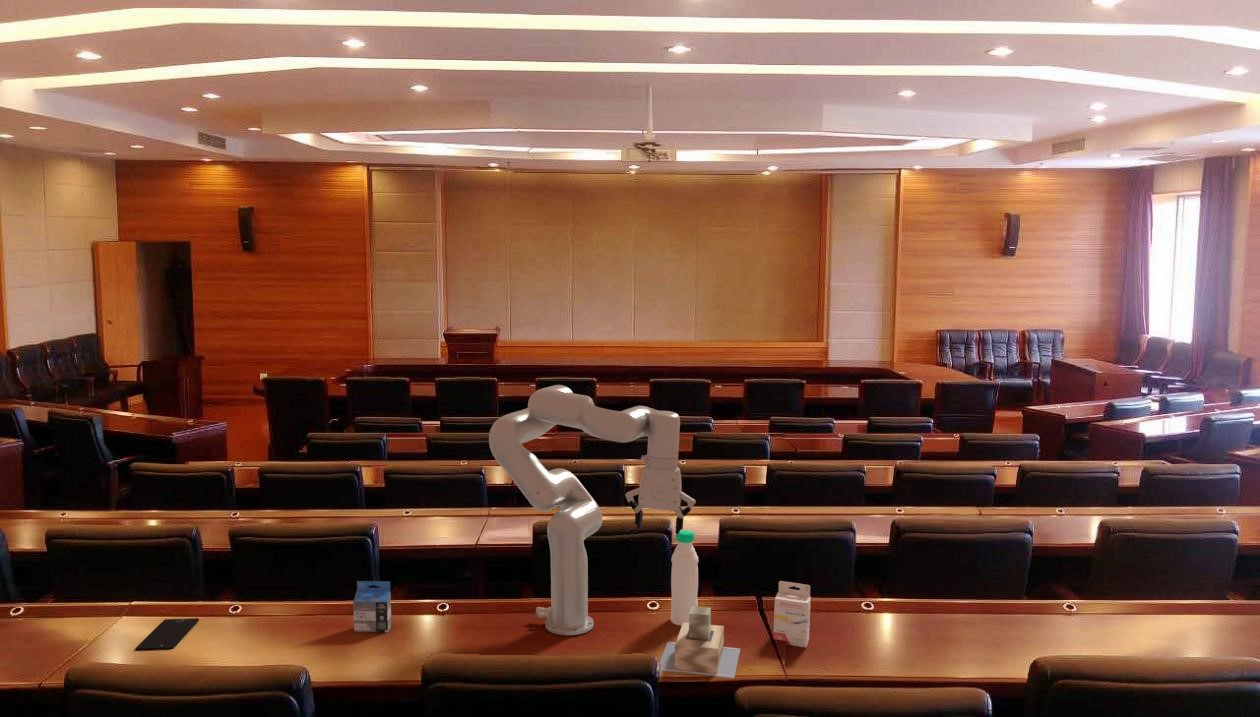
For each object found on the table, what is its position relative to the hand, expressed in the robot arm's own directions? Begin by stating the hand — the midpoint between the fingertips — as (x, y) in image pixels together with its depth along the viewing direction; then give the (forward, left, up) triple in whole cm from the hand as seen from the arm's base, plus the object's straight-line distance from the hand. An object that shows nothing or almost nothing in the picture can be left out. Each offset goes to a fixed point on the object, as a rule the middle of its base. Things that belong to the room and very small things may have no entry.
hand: (658, 529), depth 228 cm
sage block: (+12, -8, -22) cm, 26 cm away
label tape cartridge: (-73, -7, -30) cm, 79 cm away
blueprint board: (+12, -8, -30) cm, 33 cm away
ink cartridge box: (+33, +9, -30) cm, 45 cm away
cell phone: (-122, -21, -30) cm, 128 cm away
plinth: (+12, -8, -29) cm, 32 cm away
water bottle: (+5, +14, -30) cm, 33 cm away
